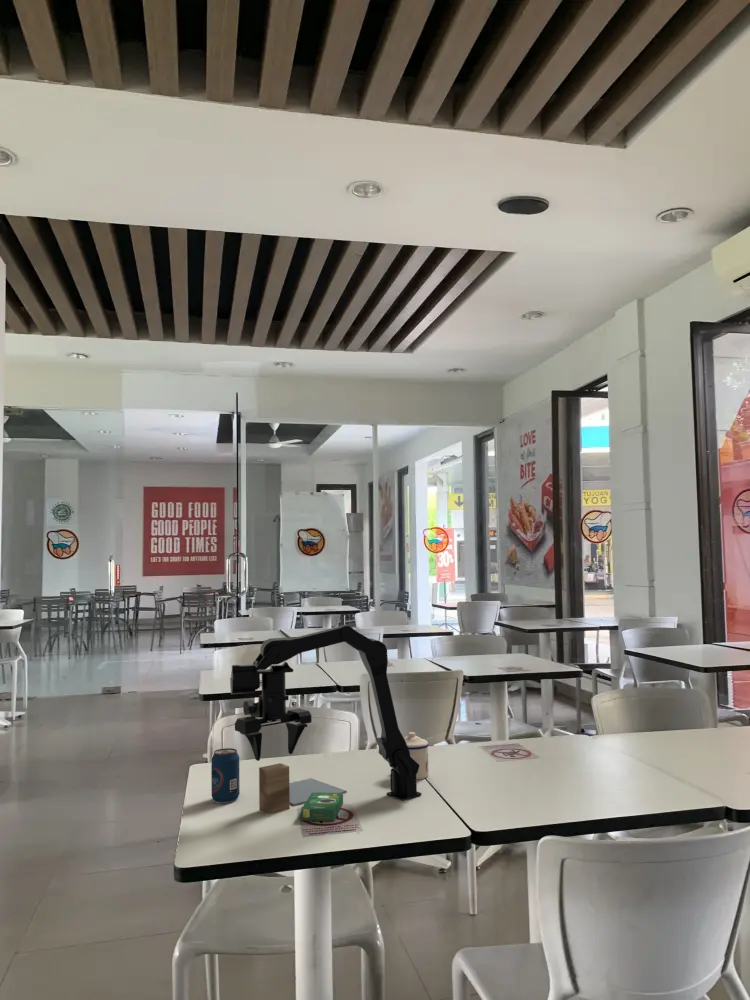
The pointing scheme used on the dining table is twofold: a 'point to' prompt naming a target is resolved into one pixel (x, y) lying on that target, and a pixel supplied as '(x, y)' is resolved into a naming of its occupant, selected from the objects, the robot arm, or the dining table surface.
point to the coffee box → (322, 806)
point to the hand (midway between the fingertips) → (274, 757)
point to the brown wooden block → (274, 788)
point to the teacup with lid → (418, 753)
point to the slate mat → (309, 790)
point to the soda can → (225, 775)
